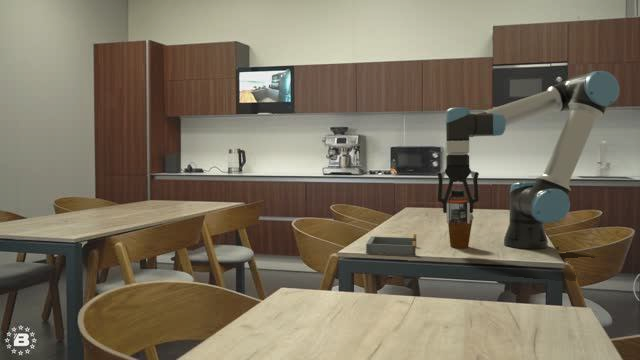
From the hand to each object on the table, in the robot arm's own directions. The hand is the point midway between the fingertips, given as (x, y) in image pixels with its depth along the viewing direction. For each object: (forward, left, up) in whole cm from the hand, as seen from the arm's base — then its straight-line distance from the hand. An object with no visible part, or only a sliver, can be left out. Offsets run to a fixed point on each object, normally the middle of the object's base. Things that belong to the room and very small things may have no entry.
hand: (457, 222), depth 197 cm
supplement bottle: (0, 0, -1) cm, 1 cm away
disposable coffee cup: (-1, -13, -10) cm, 17 cm away
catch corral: (+22, -1, -10) cm, 24 cm away
